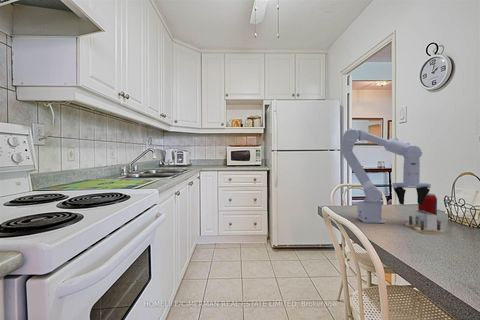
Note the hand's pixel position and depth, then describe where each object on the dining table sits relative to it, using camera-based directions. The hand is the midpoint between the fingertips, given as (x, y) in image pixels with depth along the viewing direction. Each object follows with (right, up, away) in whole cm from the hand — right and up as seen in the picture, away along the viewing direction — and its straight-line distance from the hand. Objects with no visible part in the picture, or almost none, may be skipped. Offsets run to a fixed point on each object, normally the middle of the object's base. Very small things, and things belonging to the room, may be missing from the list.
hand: (410, 204), depth 102 cm
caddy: (0, -9, -7) cm, 11 cm away
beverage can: (+13, -9, +7) cm, 17 cm away
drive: (0, -8, -7) cm, 11 cm away
